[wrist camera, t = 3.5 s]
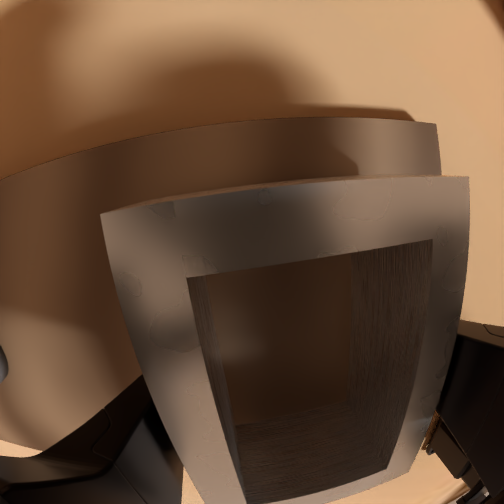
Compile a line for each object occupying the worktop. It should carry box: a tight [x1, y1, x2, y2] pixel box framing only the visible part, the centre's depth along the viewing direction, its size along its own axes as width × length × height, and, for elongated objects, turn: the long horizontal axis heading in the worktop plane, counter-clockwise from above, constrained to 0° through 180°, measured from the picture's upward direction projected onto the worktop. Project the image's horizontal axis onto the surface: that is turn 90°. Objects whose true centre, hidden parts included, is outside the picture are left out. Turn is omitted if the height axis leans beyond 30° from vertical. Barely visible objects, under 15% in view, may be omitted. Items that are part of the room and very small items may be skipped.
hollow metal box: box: [100, 174, 470, 504], centre depth 8 cm, size 7×10×4 cm
